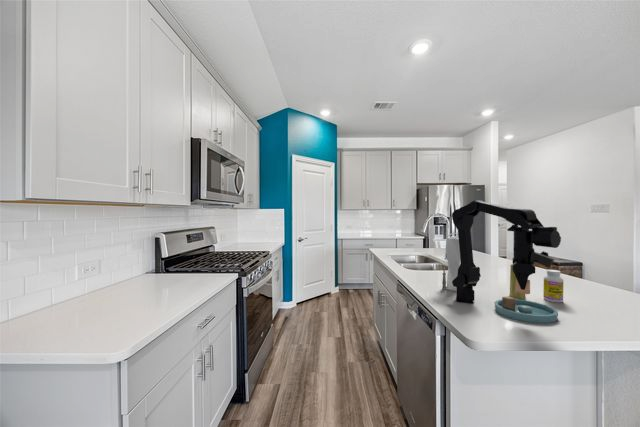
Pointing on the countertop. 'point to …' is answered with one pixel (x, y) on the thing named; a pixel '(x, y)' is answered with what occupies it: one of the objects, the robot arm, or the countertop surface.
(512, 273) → the vase
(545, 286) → the supplement bottle
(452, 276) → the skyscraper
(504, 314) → the teal round plate
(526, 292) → the bead terracotta
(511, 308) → the bead walnut
